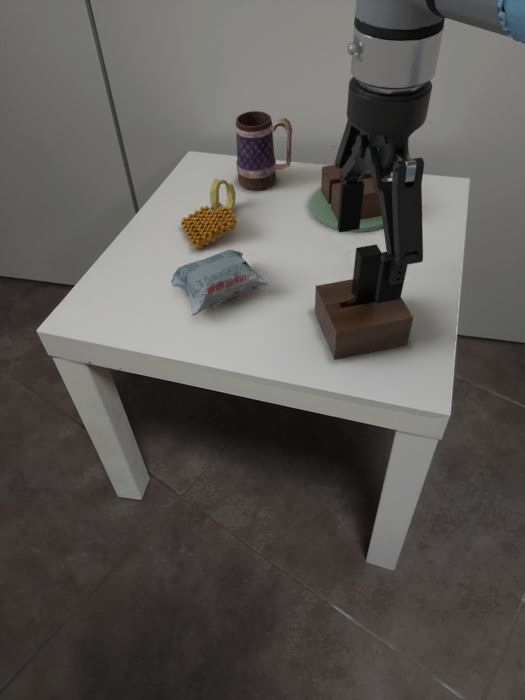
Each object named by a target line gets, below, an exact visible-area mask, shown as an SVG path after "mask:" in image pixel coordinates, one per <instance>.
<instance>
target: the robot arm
mask: <svg viewBox="0 0 525 700" xmlns="http://www.w3.org/2000/svg"><path fill="white" fill-rule="evenodd" d="M446 19H448V20H451V21H455V22H458V23H461V24H465V25H468V26H471V27H475V28H478V29H481V30H483V31H488V32H492V33H495V34H498V35H501V36H504V37H507V38H511V39H512V40H513V41H515V42H519V43H521V44H524V45H525V0H355V11H354V20H353V38H352V42H349V43H348V45H347V54H348V55H349V56H351V59H350V60H351V61H350V74H351V75H352V77H351V78H350V79H349V82H348V90H347V91H348V92H347V102H346V103H347V104H346V118H347V122H346V124H345V128H344V130H343V134H342V137H341V141H340V144H339V147H338V149H337V153H336V156H335V160H334V165H335V166H336V169H341V171H340V173H339V178H340V180H341V181H343V183H342V184H341V189H340V202H339V215H338V228H337V229H336V230H337V231H338V233H339V234H340V233H344V232H345V233H346V232H348V231H352V230H358V229H359V228H360V220H361V211H362V202H363V193H364V182H363V181H357V179H360V178H367V176H365V175H367V174H366V172H367V170H368V169H369V170H370V172H371V177H372V184H373V189H374V191H375V192H377V193H378V194H379V199H380V207H381V214H382V221H383V227H382V228H383V236H384V242H385V250H386V251H381V252H382V256H380V258H381V264H380V270H379V276H378V283H377V289H376V295H375V300H376V302H377V303H382V302H387V301H393V300H398V299H400V298H402V293H403V289H404V283H405V279H406V275H407V270H408V265H413V264H414V265H415V264H418V263H419V264H420V263H422V262H423V261H424V238H423V237H424V235H423V232H424V231H423V191H422V190H423V189H422V184H423V176H424V170H425V161H424V158H423V157H414V158H411V156H410V151H409V149H410V148H409V143H410V142H409V140H410V139H409V138H410V137H411V135H412V134H413V133H414V132H416V131H417V130H419V129H420V128H421V127H423V125H424V124H425V122H426V120H427V116H428V111H429V107H430V100H431V97H432V90H433V84H432V81H431V80H432V79H433V78H434V77H435V75H436V70H437V65H438V59H439V54H440V49H441V44H442V38H443V34H444V28H445V20H446ZM382 179H387V180H388V182H383V181H382ZM389 179H391V180H390V181H389Z"/></svg>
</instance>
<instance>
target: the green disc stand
mask: <svg viewBox="0 0 525 700" xmlns="http://www.w3.org/2000/svg"><path fill="white" fill-rule="evenodd" d="M340 171H341V169H336V166H335V164H331V165H324V166H322V167H321V180H320V181H321V182H320V183H321V184H320V187H319V188H318V189H317V190H316V191H315V192H314V193H313V195H312V196H311V199H310V210H311V213H312V215H313V217H314V218H316V220H317V221H319V222H320V223H321V224H323V225H325V226H327V227H329V228H332V229H333V230H338V229H337V228H338V215H339V202H340V189H341V184H342V183H343V181H341V180H340V178H339V173H340ZM366 174H367V175H365V176H367V178H360V179H357V181H363V182H364V193H363V202H362V211H361V220H360V228H359V229H358V230H352V231H347V232H349V233H364V232H372V231H376V230H379V229H382V228H383V221H382V214H381V207H380V199H379V194H378V193H377V192H375V191H374V189H373V184H372V177H371V172H370V170H369V169H368V170H367V172H366ZM382 181H383V182H388V181H389V179H382Z"/></svg>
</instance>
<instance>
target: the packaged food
mask: <svg viewBox="0 0 525 700" xmlns="http://www.w3.org/2000/svg"><path fill="white" fill-rule="evenodd" d="M243 256H244V254H243V252H241V251H238V250H234V249H226V250H224V251H221V252H219V253H217V254H214V255H211V256H209V257H205V258H204V259H201V260H196V261H191V262H189V263H186V264H184V265H182V266H179V267H177V269H175V272H174V273H173V274H172V279H171V286H172V287H174V288H175V287H178V288H180V289H181V290H183V291H184V292H186V293H188V297H189V301H190V311H191V316H193V317H194V316H196V315H198V314H200V313H202V312H203V311H206V310H209V309H211V308H213V307H215V306H217V305H219V304H221V303H223V302H225V301H226V300H229V299H234V298H236V297H239V296H241V295H243V294H246V293H249V292H252V291H256V290H258V289H259V288H262V287H264V286H267V285H269V283H270V279H268V278H267V277H265V276H264V275H262V274H261V273H259V271H258V270H256V269H253V268H252V267H251V266H250V264H249V263H248V262H247V261H246V260H245V259H244V258H243Z"/></svg>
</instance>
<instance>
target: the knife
mask: <svg viewBox="0 0 525 700" xmlns="http://www.w3.org/2000/svg"><path fill="white" fill-rule="evenodd" d="M382 252H383V251H381V249H380V247H379V245H378V244H370V245H365V246H359V247H356V248H355V255H354V264H353V265H354V266H353V274H352V279H353V283H352V294H353V297H348V306H347V307H351V306H356V305H361V304H367V303H372V302H376V300H375V295H376V289H377V283H378V276H379V270H380V264H381V258H380V256H382Z"/></svg>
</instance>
